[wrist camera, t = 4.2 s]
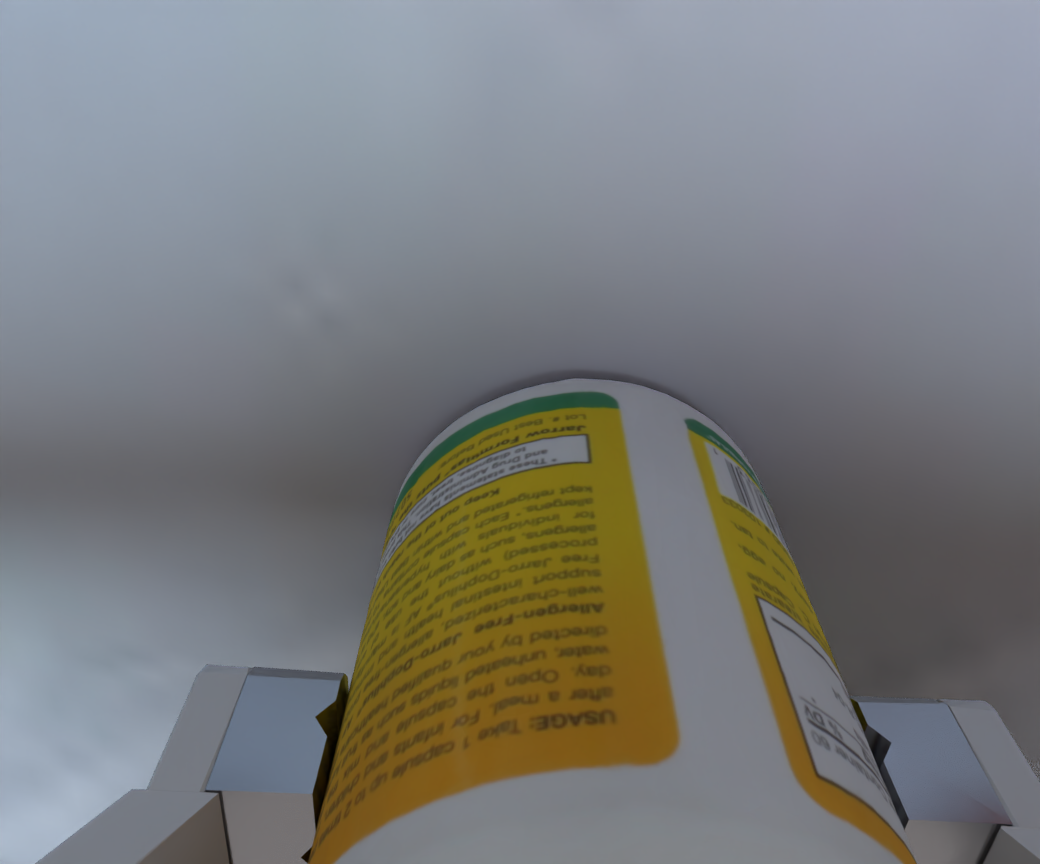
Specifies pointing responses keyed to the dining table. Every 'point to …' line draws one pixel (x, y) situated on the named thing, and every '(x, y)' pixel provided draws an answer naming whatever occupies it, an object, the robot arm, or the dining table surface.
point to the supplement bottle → (596, 658)
